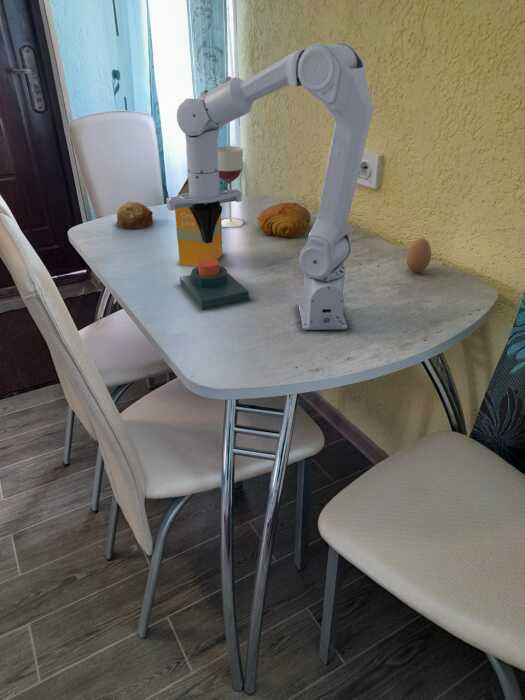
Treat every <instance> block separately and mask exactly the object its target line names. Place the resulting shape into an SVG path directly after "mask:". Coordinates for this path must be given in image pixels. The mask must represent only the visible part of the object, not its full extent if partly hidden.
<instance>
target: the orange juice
mask: <svg viewBox="0 0 525 700" xmlns="http://www.w3.org/2000/svg"><path fill="white" fill-rule="evenodd" d="M187 193H189V182H188V177H187V178H186V180H185V182H184V184H183V185H182V187H181V189H180V190H179V192H178V194H177V196H179V195H183V194H187ZM174 215H175V216H174V217H175V224H176V225H175V227H176V239H177V248H178V261H179V265H186V266H193V267H194V266H195V267H198V262H199V261H200V260H203V259H216V260H218V261H219V259H220V258H221V256H223V253H224V252H223V232H222V229H223V228H222V226H221V220H222V214H221V215H220V216H219V218H218V221H217V223H216V226H215V230H214V234H213V240H212V243H205V242H204V241H202V236H201V232H200V229H199V227H198V224H197V222H196V220H195V218H194V216H193V214H192V212H191V210H190V209H189V207H186V208H179V209H175V210H174Z"/></svg>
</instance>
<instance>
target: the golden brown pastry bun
mask: <svg viewBox="0 0 525 700" xmlns="http://www.w3.org/2000/svg"><path fill="white" fill-rule="evenodd" d="M311 217H312V215H311V213H310V211H309V210H308V209H307V208H306V207H304V206H303V205H301V204H299V203H297V202H290V201H289V202H280V203H277V204H273V205H271V206H268V207H267V208H264V210H262V211H261V212H259V214H258V216H257V220H258V227H259V229H260V230H261V231H262V232H263V233H264V234H265V235H268V236H273V235H275V236H276V237H280V238H282V237H283V238H296V237H299V236H300V235H301V234H303V233H304V232H305V231H306V229H307V227H308V225H309V224H310V222H311Z"/></svg>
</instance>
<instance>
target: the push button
mask: <svg viewBox="0 0 525 700" xmlns="http://www.w3.org/2000/svg"><path fill="white" fill-rule="evenodd" d="M220 266H221V264H220V261H219V259H218V260H216V259H203V260H200V261H199V262H198V266H197V267H198V274H199V275H201V276H215V275H218V274H220Z"/></svg>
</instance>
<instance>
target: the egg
mask: <svg viewBox="0 0 525 700" xmlns="http://www.w3.org/2000/svg"><path fill="white" fill-rule="evenodd" d="M431 257H432V249H431V245H430V243H429V242H428V240H427V239H426V238H424V237H419V238H416V239H415V240H414V241H412V243H411V244H410V245H409V248H408V249H407V252H406V259H405V261H406V265H407V267H408V269H409V270H410V271H411V272H413V273H415V274H418V273H422V272H423V271H425V270H426V269H427V267H428V266H429V264H430V263H431V260H432V258H431Z"/></svg>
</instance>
